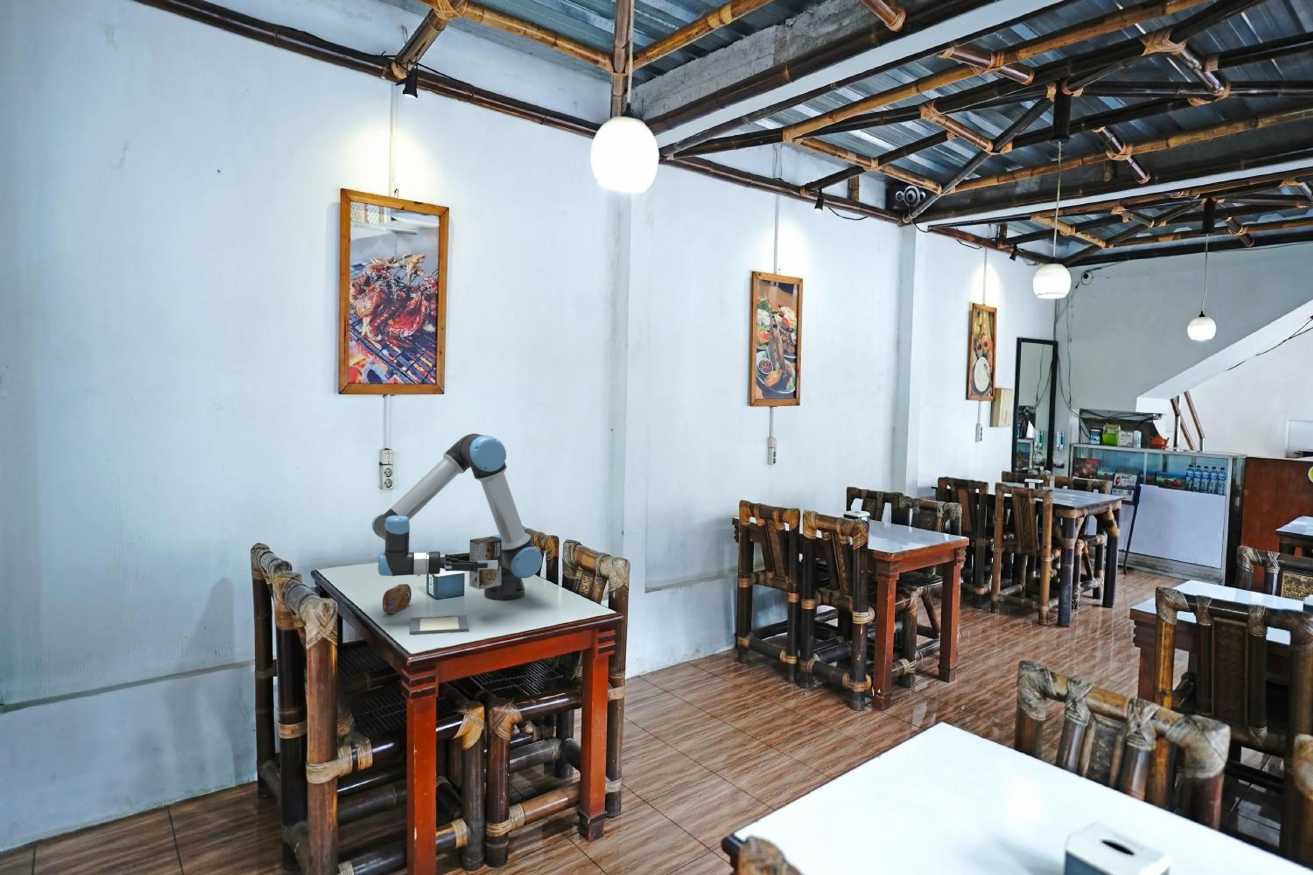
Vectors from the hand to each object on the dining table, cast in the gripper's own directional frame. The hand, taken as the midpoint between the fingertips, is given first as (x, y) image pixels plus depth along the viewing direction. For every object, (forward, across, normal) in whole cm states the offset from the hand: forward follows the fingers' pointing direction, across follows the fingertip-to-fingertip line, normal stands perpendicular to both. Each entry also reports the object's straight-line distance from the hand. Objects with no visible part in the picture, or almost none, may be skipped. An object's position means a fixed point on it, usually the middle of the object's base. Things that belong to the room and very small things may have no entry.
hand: (496, 560), depth 254 cm
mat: (-19, +6, -20) cm, 28 cm away
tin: (-33, -14, -20) cm, 41 cm away
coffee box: (-4, 0, -9) cm, 9 cm away
